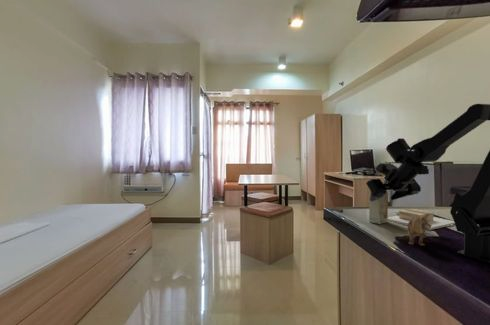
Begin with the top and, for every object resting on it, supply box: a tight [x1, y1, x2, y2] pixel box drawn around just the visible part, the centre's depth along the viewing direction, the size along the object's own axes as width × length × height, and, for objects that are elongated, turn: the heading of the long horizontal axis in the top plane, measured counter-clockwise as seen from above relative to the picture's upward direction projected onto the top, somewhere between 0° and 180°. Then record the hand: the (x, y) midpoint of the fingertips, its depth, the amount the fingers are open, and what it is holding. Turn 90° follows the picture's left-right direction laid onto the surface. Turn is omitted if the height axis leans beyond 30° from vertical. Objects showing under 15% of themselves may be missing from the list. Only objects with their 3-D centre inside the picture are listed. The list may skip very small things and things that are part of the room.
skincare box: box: [368, 190, 389, 225], centre depth 100 cm, size 6×4×12 cm
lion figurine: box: [407, 215, 431, 246], centre depth 79 cm, size 15×5×9 cm, turn 151°
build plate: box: [388, 215, 455, 231], centre depth 100 cm, size 18×16×1 cm
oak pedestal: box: [398, 208, 434, 222], centre depth 101 cm, size 8×8×3 cm
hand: (381, 199), depth 99 cm, fingers open, 9 cm apart
